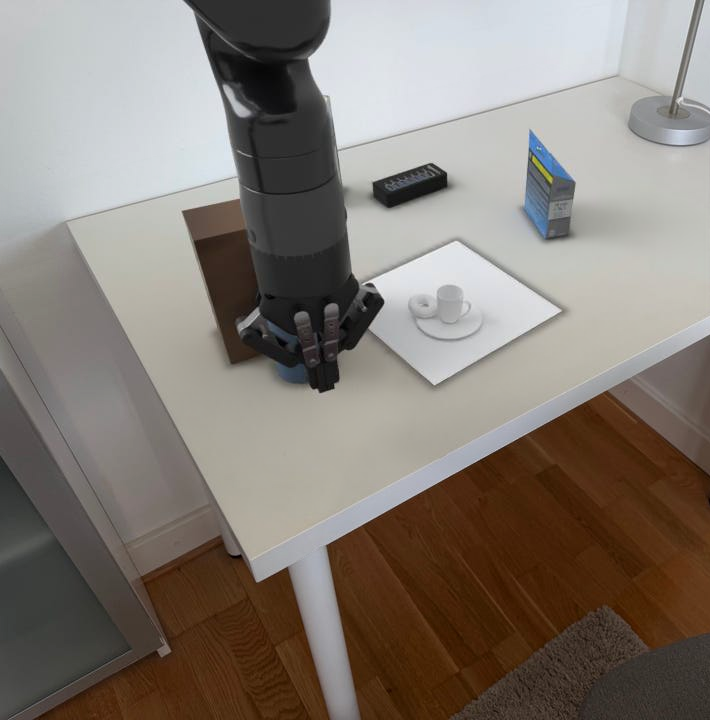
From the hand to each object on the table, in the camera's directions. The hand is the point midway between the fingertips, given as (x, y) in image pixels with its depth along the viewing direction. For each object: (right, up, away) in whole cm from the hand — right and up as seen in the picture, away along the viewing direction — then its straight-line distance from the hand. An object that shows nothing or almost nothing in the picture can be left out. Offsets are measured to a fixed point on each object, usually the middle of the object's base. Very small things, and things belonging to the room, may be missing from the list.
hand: (323, 385), depth 64 cm
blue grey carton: (+24, +22, +34) cm, 48 cm away
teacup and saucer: (+11, +9, +20) cm, 24 cm away
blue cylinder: (-7, +4, +13) cm, 15 cm away
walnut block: (-8, +6, +15) cm, 18 cm away
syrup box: (-9, +26, +38) cm, 47 cm away
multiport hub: (+4, +28, +40) cm, 49 cm away
